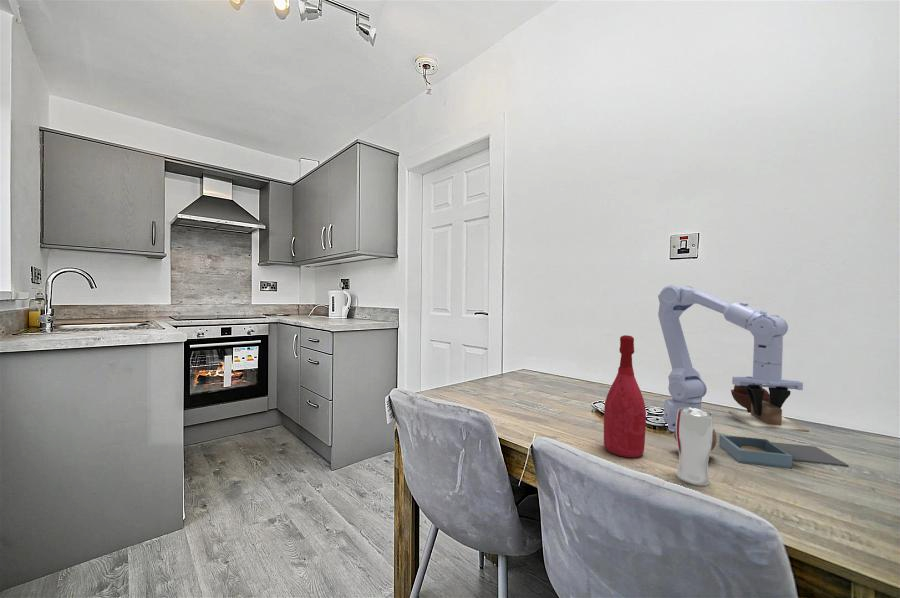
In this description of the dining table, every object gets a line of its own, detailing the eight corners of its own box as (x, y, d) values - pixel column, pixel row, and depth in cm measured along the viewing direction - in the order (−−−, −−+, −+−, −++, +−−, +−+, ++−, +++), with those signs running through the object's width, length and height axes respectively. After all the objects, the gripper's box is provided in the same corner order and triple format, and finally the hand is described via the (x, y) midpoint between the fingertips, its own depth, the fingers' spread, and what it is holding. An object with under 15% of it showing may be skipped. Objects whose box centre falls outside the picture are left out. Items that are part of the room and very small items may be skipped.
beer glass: (667, 472, 88) (669, 406, 88) (696, 471, 88) (698, 406, 88) (688, 487, 81) (691, 416, 81) (719, 487, 81) (722, 416, 81)
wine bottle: (627, 462, 93) (631, 338, 92) (594, 447, 101) (598, 333, 101) (653, 455, 97) (657, 337, 97) (620, 441, 106) (623, 333, 106)
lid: (749, 426, 94) (750, 408, 94) (728, 412, 106) (728, 396, 106) (808, 432, 91) (809, 413, 91) (779, 417, 103) (780, 400, 103)
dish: (738, 462, 94) (739, 450, 94) (719, 445, 105) (719, 434, 105) (791, 468, 92) (792, 455, 91) (766, 450, 102) (766, 439, 102)
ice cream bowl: (780, 428, 120) (781, 380, 120) (739, 425, 123) (741, 378, 123) (760, 418, 131) (761, 374, 131) (723, 415, 133) (724, 372, 133)
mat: (780, 459, 97) (780, 457, 97) (755, 441, 108) (755, 440, 108) (848, 466, 93) (848, 465, 93) (815, 448, 105) (815, 446, 105)
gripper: (742, 363, 96) (740, 416, 97) (811, 367, 93) (809, 423, 93) (729, 358, 103) (727, 409, 103) (793, 362, 100) (792, 414, 100)
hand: (765, 415), depth 99 cm, fingers closed on lid, 3 cm apart
